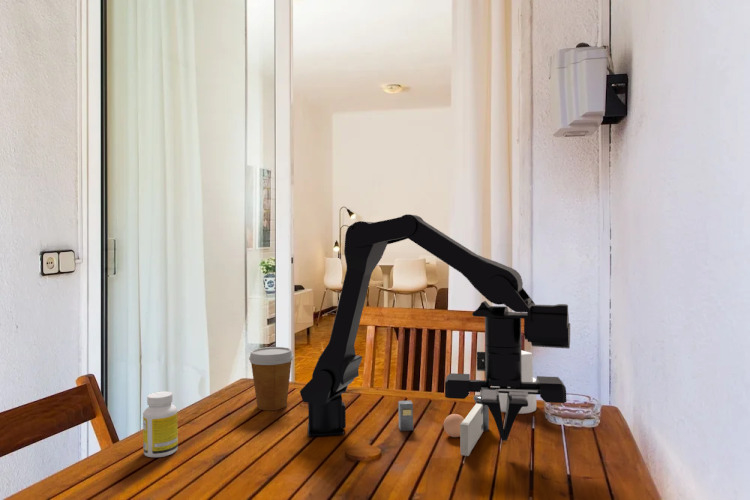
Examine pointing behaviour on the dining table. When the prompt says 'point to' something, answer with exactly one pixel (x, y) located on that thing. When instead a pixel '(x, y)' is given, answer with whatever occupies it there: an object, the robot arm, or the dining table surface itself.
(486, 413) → the hinge post
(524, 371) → the base with upright slab
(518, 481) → the dining table surface
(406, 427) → the post
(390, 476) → the dining table surface
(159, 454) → the supplement bottle
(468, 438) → the long white bar
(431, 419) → the dining table surface
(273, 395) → the disposable coffee cup
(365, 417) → the dining table surface
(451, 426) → the ball
